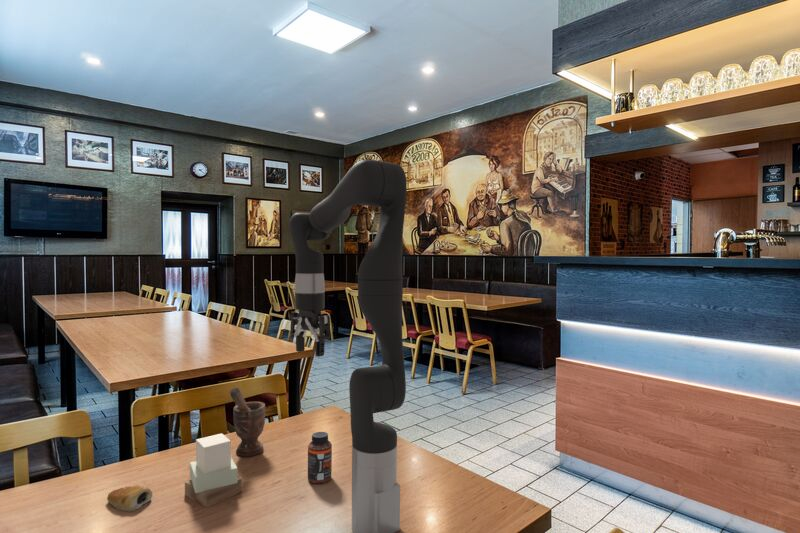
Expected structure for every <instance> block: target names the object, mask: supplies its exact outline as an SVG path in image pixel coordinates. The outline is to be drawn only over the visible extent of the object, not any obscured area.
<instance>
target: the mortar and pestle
mask: <svg viewBox="0 0 800 533" xmlns="http://www.w3.org/2000/svg"><path fill="white" fill-rule="evenodd" d="M229 393H230V397H231V399H232V400H233V402H234V403H235V404H236V405H235V406H234V407H233V413H232V414H233V416H232V417H233V426H234V430H235V434H236V436H237V437H238V438H239V439H240V440H241V442H240V443H239V445H238V446H237V448H236V450H235V453H236V454H237V455H238V456H240V457H247V458H248V457H253V456H256V455H259V454H260V453H262V452H263V451H264V444H263V443H262V441H260V440H259V436H261V435H262V433H263V431H264V428H265V423H266V403H264V402H263V401H262V402H261V401H248V402H247V401H246V400H245V397H244V394H243V391H242V390H241V389H240V388H239V387H234V388H232V389H231V390H230V392H229Z"/></svg>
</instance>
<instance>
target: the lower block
mask: <svg viewBox="0 0 800 533" xmlns="http://www.w3.org/2000/svg"><path fill="white" fill-rule="evenodd" d="M237 477H238V483H235V484H231V485H227V486H223V487H219V488H215V489H211V490H207V491H203V492H199V493H195V490H194V487H193V484H192V481H191V479H190V480H187V481H184V496H186V497H187V498H190V499H191V500H193V501H194V502H196V503H198V504H200V505H202V506H203V507H205V508H209V507H211V506H213V505H216V504H218V503H220V502H222V501H224V500H227V499H229V498H230V497H233V496H235V495H237V494H239V493H240V492H242V491H243V489H242V488H243V486H242V485H243V483H242V482H243V478H242V477H240V476H238V475H237Z"/></svg>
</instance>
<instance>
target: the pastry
mask: <svg viewBox="0 0 800 533" xmlns="http://www.w3.org/2000/svg"><path fill="white" fill-rule="evenodd" d="M152 497H153V491H152V490H151V488H149V487H144V486H142V485H139V484H137V485H132V486H131V485H130V486H125V487H121V488H118V489H114V490H112V491H110V492H109V493H108V496H107V499H106V501H108V502H109V504H111V506H113V508H114V507H115V508H114V509H118V508H119V509H118V510H121V509H122V510H121V511H124V510H125V512H134V511H137V510H138V508H139V509H140V508H142V505H143V504H144V505H145V504H147V503H148V502H150V501H151V499H152ZM144 505H143V506H144ZM136 509H137V510H136Z"/></svg>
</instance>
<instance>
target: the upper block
mask: <svg viewBox="0 0 800 533" xmlns="http://www.w3.org/2000/svg"><path fill="white" fill-rule="evenodd" d="M237 476H238V467H237V465H236V463H235V462H234V460H233V458H232V457H231V466H230V467H227V468H223V469H220V470H216V471H213V472H209V473H206V474H204V473H203V472H202V471H201V470H200V468H199V467H198V466H197V465H196V460H195V461H190V462H189V478H190V480H191V481H192V484H193V487H194V490H195V493H199V492H203V491H207V490H211V489H215V488H219V487H223V486H227V485H231V484H235V483H238V477H239V476H238V477H237Z"/></svg>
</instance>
